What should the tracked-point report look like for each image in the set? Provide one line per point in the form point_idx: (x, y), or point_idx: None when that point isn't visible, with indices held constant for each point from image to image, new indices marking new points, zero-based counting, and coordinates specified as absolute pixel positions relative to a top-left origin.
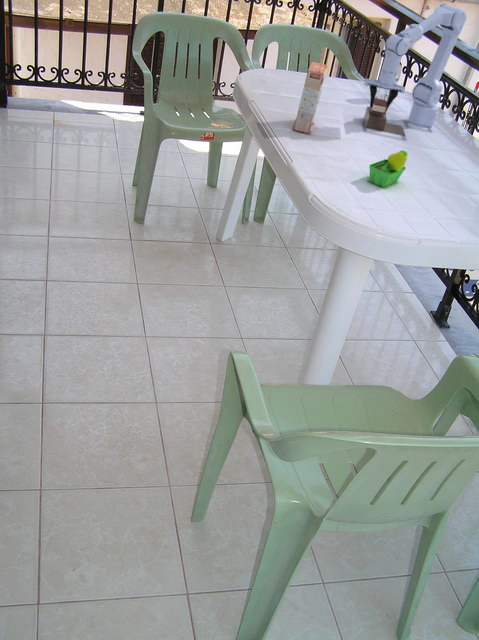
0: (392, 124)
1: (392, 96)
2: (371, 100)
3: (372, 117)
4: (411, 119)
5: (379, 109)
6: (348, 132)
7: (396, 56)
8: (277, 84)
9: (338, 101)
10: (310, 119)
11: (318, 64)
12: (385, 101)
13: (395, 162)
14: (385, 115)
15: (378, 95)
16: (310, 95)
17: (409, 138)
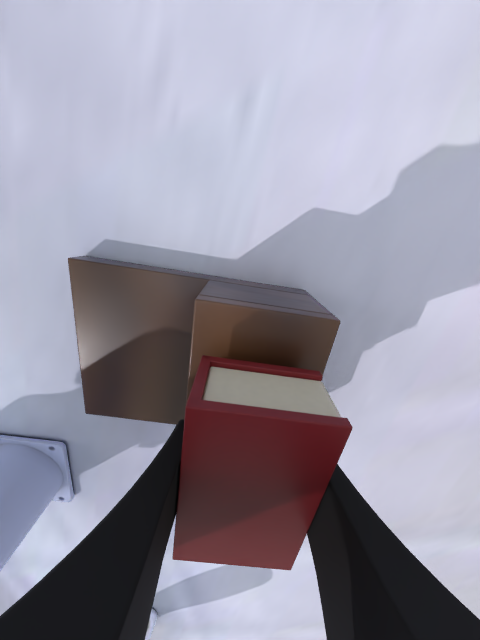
0: (134, 413)
1: (85, 615)
2: (359, 493)
3: (312, 314)
4: (31, 483)
5: (267, 385)
6: (421, 234)
7: None
8: (472, 603)
9: (304, 562)
10: None
11: None
12: (183, 531)
13: None
14: (188, 391)
15: (152, 630)
16: None
17: (55, 299)
